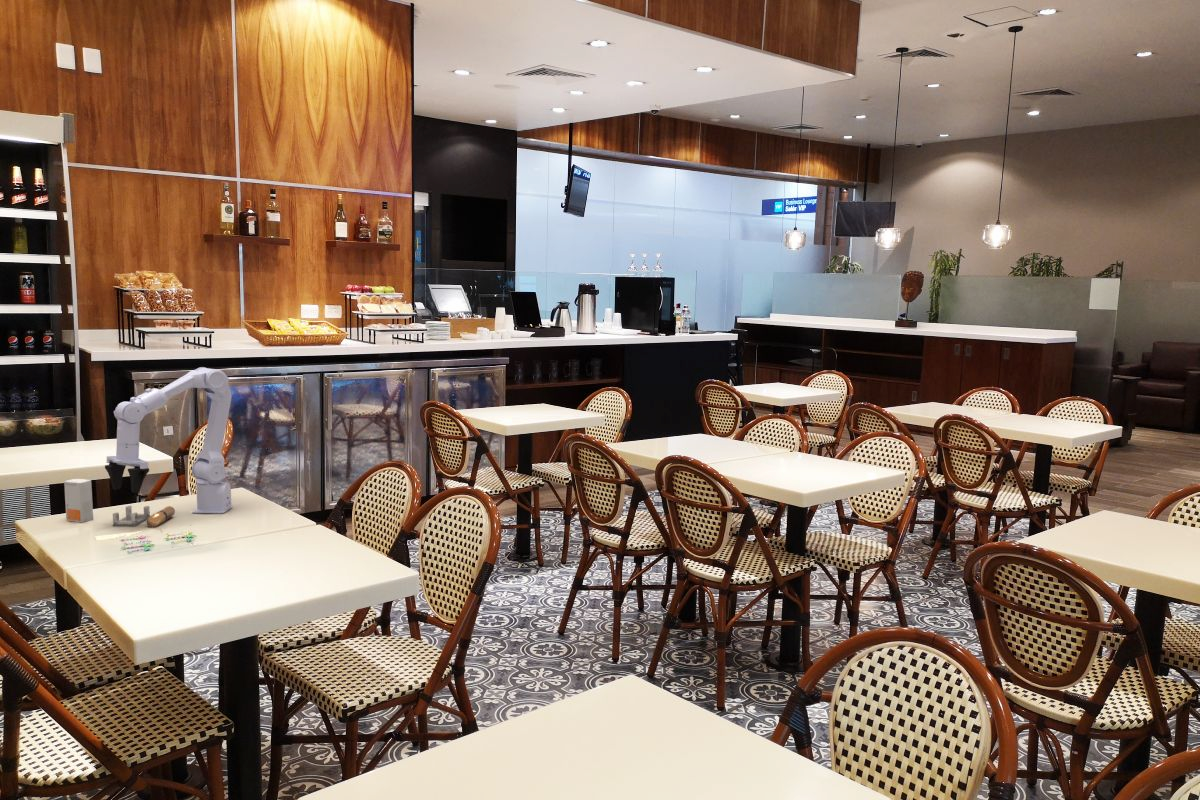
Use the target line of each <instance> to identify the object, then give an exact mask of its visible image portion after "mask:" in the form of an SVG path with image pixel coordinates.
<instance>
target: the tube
mask: <svg viewBox="0 0 1200 800" xmlns="http://www.w3.org/2000/svg"><path fill="white" fill-rule="evenodd" d="M175 514H176V510H175V508H174V507H173V506H170V505H168V506H166V507H164V508H163V509H161V510H159V511H157V512H156V513H154V514H152V515H150V517H149V518H148V519H147V520H145V521H146V522H145V523H146V525H147V526H148V527H150V528H156V527H157V526H159V525H160V524H162V523H164V522H166V521H167V520H168V519H170V518H172V517H173V516H175Z"/></svg>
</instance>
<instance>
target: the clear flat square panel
mask: <svg viewBox="0 0 1200 800" xmlns="http://www.w3.org/2000/svg"><path fill="white" fill-rule="evenodd" d="M142 531H143V530H139V531H138V530H137V531H132V532H131V531H130V532H129V531H128V532H121V533H114V534H111V533H110V534H104V535H97V536H96V535H95V536H94V537H95V540H96V541H102V540H110V539H117V538H116V537H118V538H120V537H119V536H124V535H126V536H125V537H131V536H130V535H132V534H136V533H139V532H142ZM188 532H190V531H185V532H184V533H188ZM181 533H182V532H181ZM181 533H179V534H181ZM193 533H195V532H193V531H191V532H190V534H188V535H187V534H186V535H182V536H174V537H169V536H168V535H170V534H169V533H166V536H167V537H164V538H163V540H166V541H169V540H175V541H171V542H170V543H171V544H173V543H174V544H175V543H178V542H186V541H187V542H189V543H190V542H191V541H195V538H194V537H195V536H194V534H193ZM146 535H147V536H146ZM146 535H145V536H144V535H136V538H135V537H132V538H126V539H124V538H125V537H124V538H123V539H120V540H119V541H121V542H123V546H121V547H119V548H120V549H121V550H122V551H123V550H126V549H129V550H128V551H127V553H128V554H130V553H134V552H136V551H137V552H139V551H145V552H146V551H147V550H148V551H150V550H151V551H152V548H154V544H153V543H151V540H149V539H148V538H147V537H152V536H149V535H148V534H146ZM180 537H184V538H185V539H181V538H180ZM187 537H188V538H187ZM189 537H191V538H189ZM146 538H147V539H146ZM175 538H177V539H180V540H176V539H175ZM143 539H146V540H143ZM129 540H140V541H139V542H137V544H140V545H134V544H133V543H134V542H129V543H127V542H124V541H129ZM142 540H143V541H142ZM147 541H148V543H145V542H147ZM141 542H142V543H141ZM125 544H126V545H125ZM190 544H192V545H193V544H194V543H193V542H191V543H190ZM127 545H131V546H127ZM142 546H143V547H142ZM147 546H149V547H147ZM138 547H140V548H138ZM134 548H138V549H134ZM130 549H134V550H130Z"/></svg>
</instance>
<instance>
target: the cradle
mask: <svg viewBox="0 0 1200 800" xmlns="http://www.w3.org/2000/svg"><path fill="white" fill-rule="evenodd" d="M132 508H133V507H132V505H127V506H125V517H123V518H121V519H120V513H119V512H113V513H112V527H137V526H138V525H140V524H141V523H143V522H145V521H147V520H146V519H148V518H149V517H150V516H151V515H150V514H151V512H150V511H151V510H150V505H145V506H144V507H143V513H138V512H133V510H132Z"/></svg>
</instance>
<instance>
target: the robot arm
mask: <svg viewBox="0 0 1200 800" xmlns="http://www.w3.org/2000/svg"><path fill="white" fill-rule="evenodd" d="M229 378H230V377H228V375H227V374H225V372H224V371H223V370H221V369H215V368H209V367H208V368H207V367H204V366H202V367H201V366H200V367H198V368H196V369H193V370H190V371H188V372H187V373H186V374H185V375H182V376H180V377H179V378H177V379H176V380H173V382H170V383H169V384H167V385H165V386H164V387H162V388H160V389H158V388H155V387H153V388H150V387H148V388H146V389H145V392H143V393H141V394H140V395H137V396H136V397H135V396H132V397H130V400H129V401H122V402H120V403H118V404H117V406H116V407H115V410H113V414H114V417H115V419H116V420H117V428H116V448H115V449H116V451H115V452H116V454H115V455H108V456H106V464H105V465H104V469H105V470H106V472H107V474H108V476H109V479H110V483H111V487H112V490H121V489H122V486H123V485H122V484H123V479H124V478H123V477H124V473H125V469H126V467H130V468H127V471H128V475H129V479H130V490H131V491H130V492H131V493H132V494H138V493H140V492H141V489H142V485H143V483H144V480H145V478H146V477H147V475H148V473H149V472H150V468H149V461H147V460H143V459H141V458H140V457H139V455H140V431H141V427H140V426H141V421H142V420H143V419H144V417H145V416H146V415H149V414H151V413H153V411H156V410H158V409H159V408H162V407H163V406H165V404H166V403H167V400H168V399H169V398H172V397H174V396H177V395H178V394H181V393H183V392H185V391H186V390H189V389H191V388H193V389H195V388H196V389H201V390H202V391H203V392H205V393H206V394H207V396H208V397H209V398H210V399H211V402H210V403H211V404H210V409H209V413H208V419H207V424H206V428H205V434H204V441H203V446H202V450H200V452H198V453H197V456H196V459H195V461H194V462H193V465H192V466H191V473H192V475H193V476H194V477H195V479H196V481H195V483H196V484H195V486H196V508H195V509H194V510H193V511H192V514H225V513H226V512H227V511H229V510H230V509H232V508H233V505H232V487H231V484H230V482H225V481H223V479H224V478H225V477H226V471H227V470H226V468H225V463H226V460H225V458H224V455H223V453H222V451H223V446H224V445H223V444H224V440H225V434H226V429H227V423H228V418H229V414H230V408H231V402H232V398H233V397H232V396H233V395H232V392H231V389H230V385H229V380H230V379H229Z"/></svg>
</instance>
